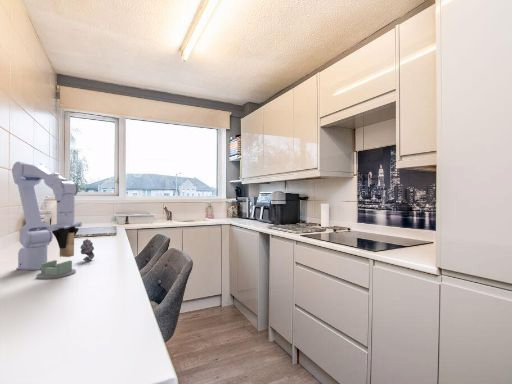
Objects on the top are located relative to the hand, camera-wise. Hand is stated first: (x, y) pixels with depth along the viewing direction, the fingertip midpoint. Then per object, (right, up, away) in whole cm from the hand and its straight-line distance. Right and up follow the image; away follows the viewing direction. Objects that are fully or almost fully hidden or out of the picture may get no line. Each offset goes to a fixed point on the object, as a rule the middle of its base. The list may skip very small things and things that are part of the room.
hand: (65, 247), depth 109 cm
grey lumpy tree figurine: (-3, -10, +20) cm, 22 cm away
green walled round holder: (-1, -10, -3) cm, 10 cm away
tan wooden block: (0, -3, 0) cm, 3 cm away
